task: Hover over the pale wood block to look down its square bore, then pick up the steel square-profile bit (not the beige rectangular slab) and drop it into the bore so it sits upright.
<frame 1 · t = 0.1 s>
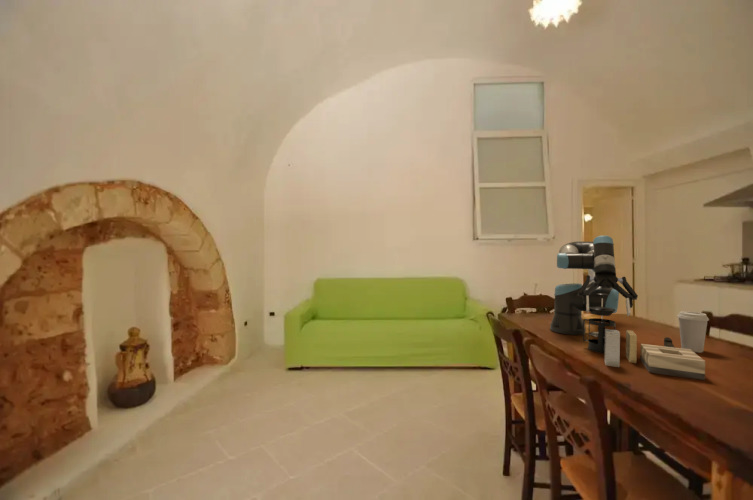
hand: (607, 312, 137), 15 cm above the table, tool tilted 35°, fingers open, 13 cm apart
french press: (599, 350, 139), on the table
square bit: (611, 364, 122), on the table
bore block: (670, 369, 118), on the table
hand tool: (667, 353, 136), on the table
coffee cup: (692, 350, 139), on the table
beige rectangular slab: (630, 359, 128), on the table
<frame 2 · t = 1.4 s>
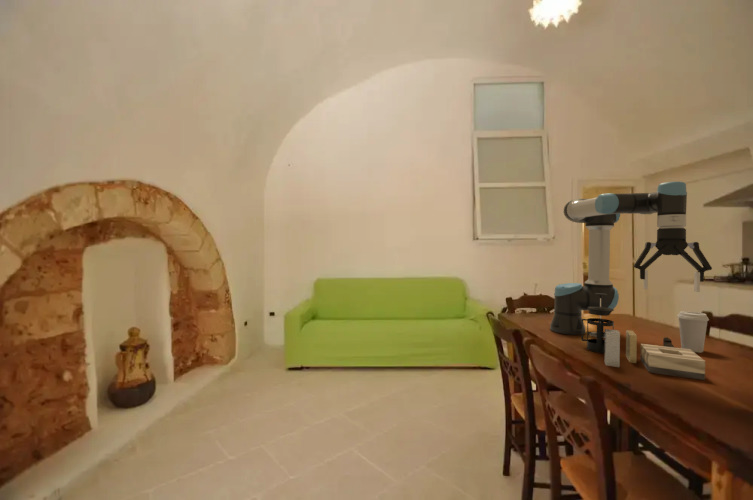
hand: (670, 290, 117), 27 cm above the table, tool pointing down, fingers open, 13 cm apart
nothing on the table moved.
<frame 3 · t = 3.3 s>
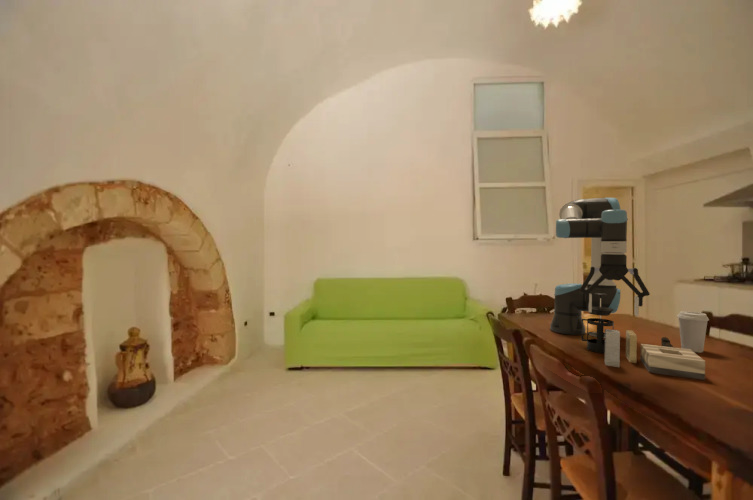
hand: (612, 313, 122), 18 cm above the table, tool pointing down, fingers open, 13 cm apart
nothing on the table moved.
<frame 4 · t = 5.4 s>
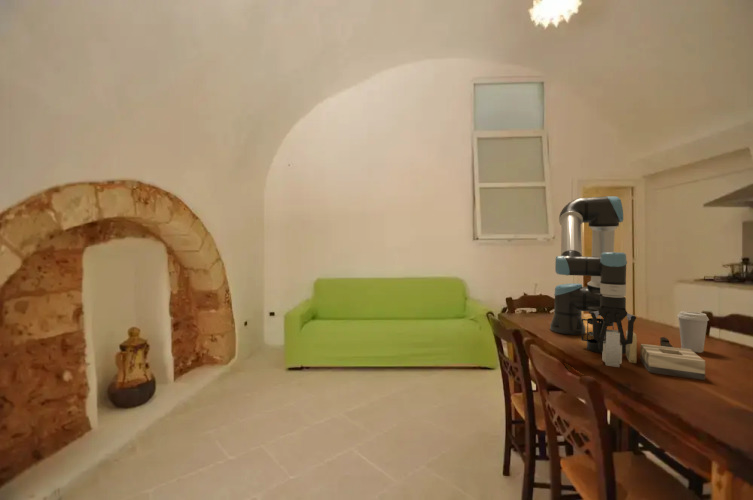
hand: (611, 361, 122), 1 cm above the table, tool pointing down, fingers closed on square bit, 4 cm apart
square bit: (611, 364, 122), on the table, touching gripper
everything else where it was.
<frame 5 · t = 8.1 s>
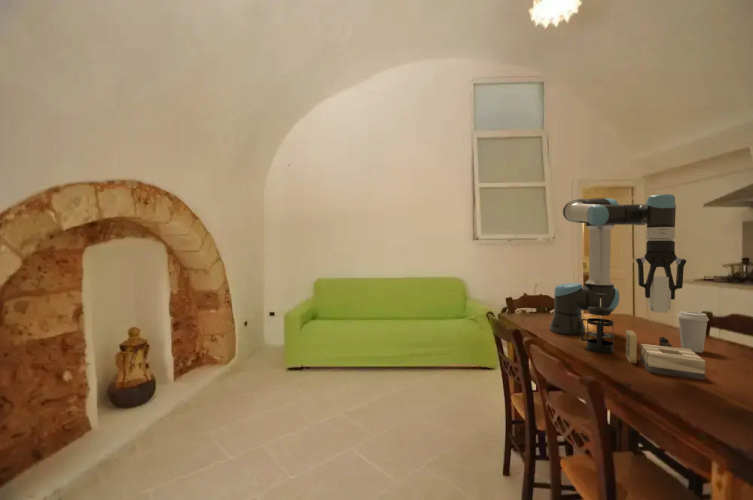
hand: (659, 308, 118), 21 cm above the table, tool pointing down, fingers closed on square bit, 4 cm apart
square bit: (659, 311, 118), point 20 cm above the table, touching gripper
everything else where it was.
when the fingers open (8 cm above the table, at t = 11.1 s): square bit drops 4 cm, resting on bore block.
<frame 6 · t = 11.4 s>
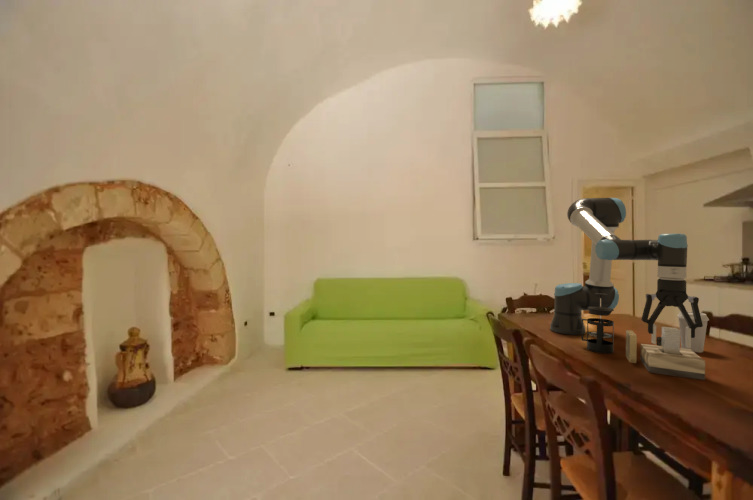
hand: (670, 345, 118), 8 cm above the table, tool pointing down, fingers open, 8 cm apart
square bit: (670, 363, 118), point 2 cm above the table, touching bore block
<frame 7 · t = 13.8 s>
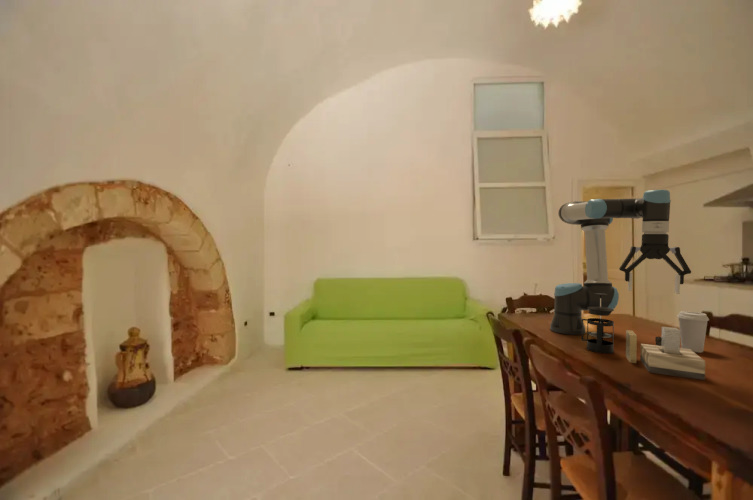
hand: (652, 291, 125), 25 cm above the table, tool pointing down, fingers open, 13 cm apart
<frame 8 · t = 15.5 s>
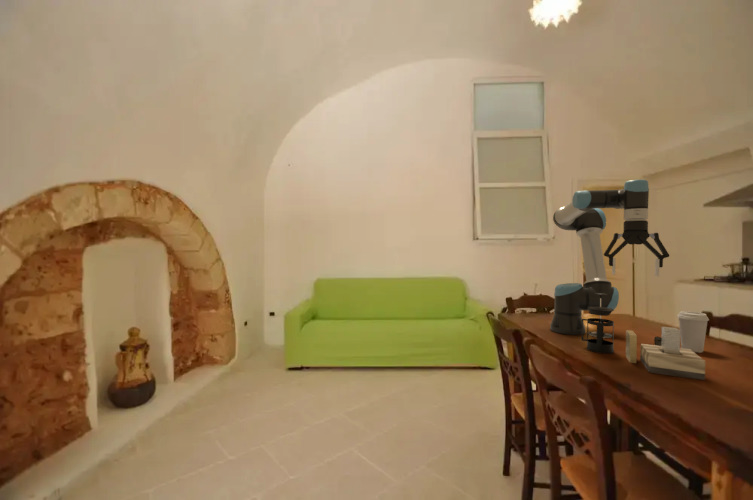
hand: (634, 275, 133), 31 cm above the table, tool pointing down, fingers open, 13 cm apart
at the end: square bit 0.0 cm off-centre on the bore block, point 2.0 cm above the bore block's base; square bit tilted 0°; beige rectangular slab moved 0.1 cm from its start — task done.
